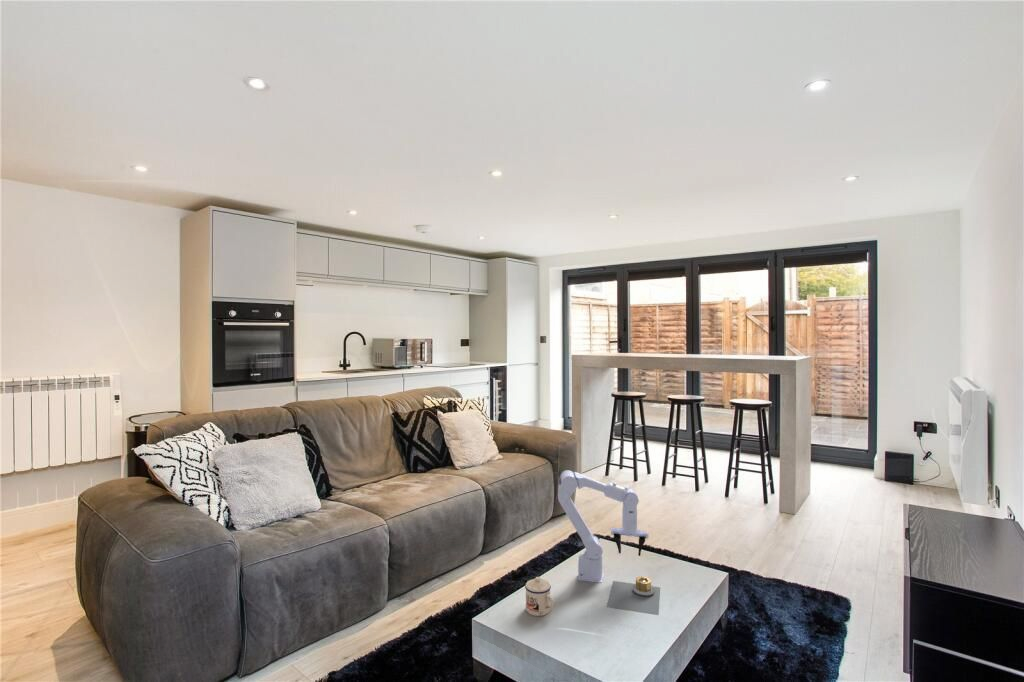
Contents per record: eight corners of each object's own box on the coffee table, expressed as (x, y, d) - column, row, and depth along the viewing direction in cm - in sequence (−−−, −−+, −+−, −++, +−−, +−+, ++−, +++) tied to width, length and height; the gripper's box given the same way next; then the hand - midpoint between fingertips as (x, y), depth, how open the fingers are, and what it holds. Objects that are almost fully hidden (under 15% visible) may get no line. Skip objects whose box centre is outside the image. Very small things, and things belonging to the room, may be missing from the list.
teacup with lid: (520, 609, 188) (519, 577, 187) (538, 600, 194) (537, 569, 193) (544, 623, 179) (543, 589, 178) (562, 613, 185) (562, 581, 184)
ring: (635, 590, 197) (635, 582, 197) (636, 583, 202) (636, 575, 202) (650, 592, 195) (650, 584, 195) (650, 585, 200) (651, 577, 200)
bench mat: (606, 607, 188) (606, 606, 188) (613, 581, 207) (613, 580, 207) (658, 616, 183) (658, 614, 183) (660, 588, 202) (660, 587, 202)
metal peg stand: (631, 595, 196) (631, 584, 196) (633, 584, 204) (633, 574, 204) (653, 598, 194) (653, 587, 194) (654, 587, 201) (654, 577, 201)
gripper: (610, 521, 208) (610, 555, 208) (647, 525, 203) (647, 560, 204) (612, 515, 214) (612, 548, 215) (648, 519, 210) (648, 552, 211)
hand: (629, 553), depth 210 cm, fingers open, 7 cm apart
